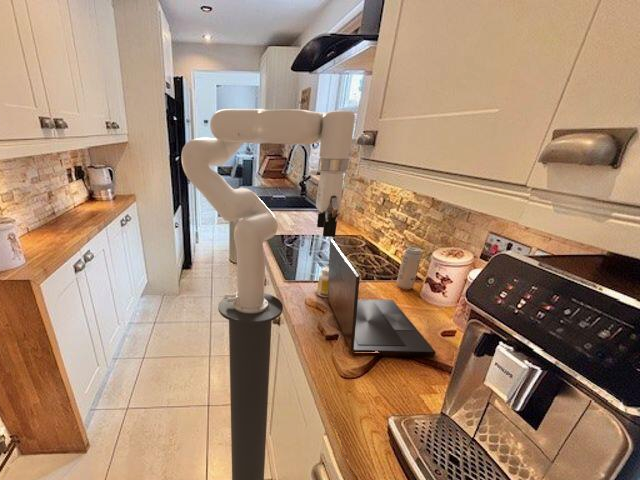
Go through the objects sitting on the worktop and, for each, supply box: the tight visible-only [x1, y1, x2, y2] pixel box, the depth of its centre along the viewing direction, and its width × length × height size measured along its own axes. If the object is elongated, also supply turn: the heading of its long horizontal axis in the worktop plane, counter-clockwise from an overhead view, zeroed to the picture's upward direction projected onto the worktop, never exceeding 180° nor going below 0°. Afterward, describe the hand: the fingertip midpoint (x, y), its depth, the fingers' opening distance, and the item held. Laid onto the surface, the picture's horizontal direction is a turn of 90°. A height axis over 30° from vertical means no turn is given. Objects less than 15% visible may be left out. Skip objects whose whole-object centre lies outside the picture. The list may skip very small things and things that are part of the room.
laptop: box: [350, 298, 437, 358], centre depth 98 cm, size 21×30×2 cm
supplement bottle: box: [316, 267, 329, 298], centre depth 117 cm, size 5×5×10 cm
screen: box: [327, 239, 361, 351], centre depth 94 cm, size 21×30×1 cm
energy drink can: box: [396, 246, 423, 290], centre depth 121 cm, size 6×6×15 cm
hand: (325, 231), depth 91 cm, fingers open, 9 cm apart
